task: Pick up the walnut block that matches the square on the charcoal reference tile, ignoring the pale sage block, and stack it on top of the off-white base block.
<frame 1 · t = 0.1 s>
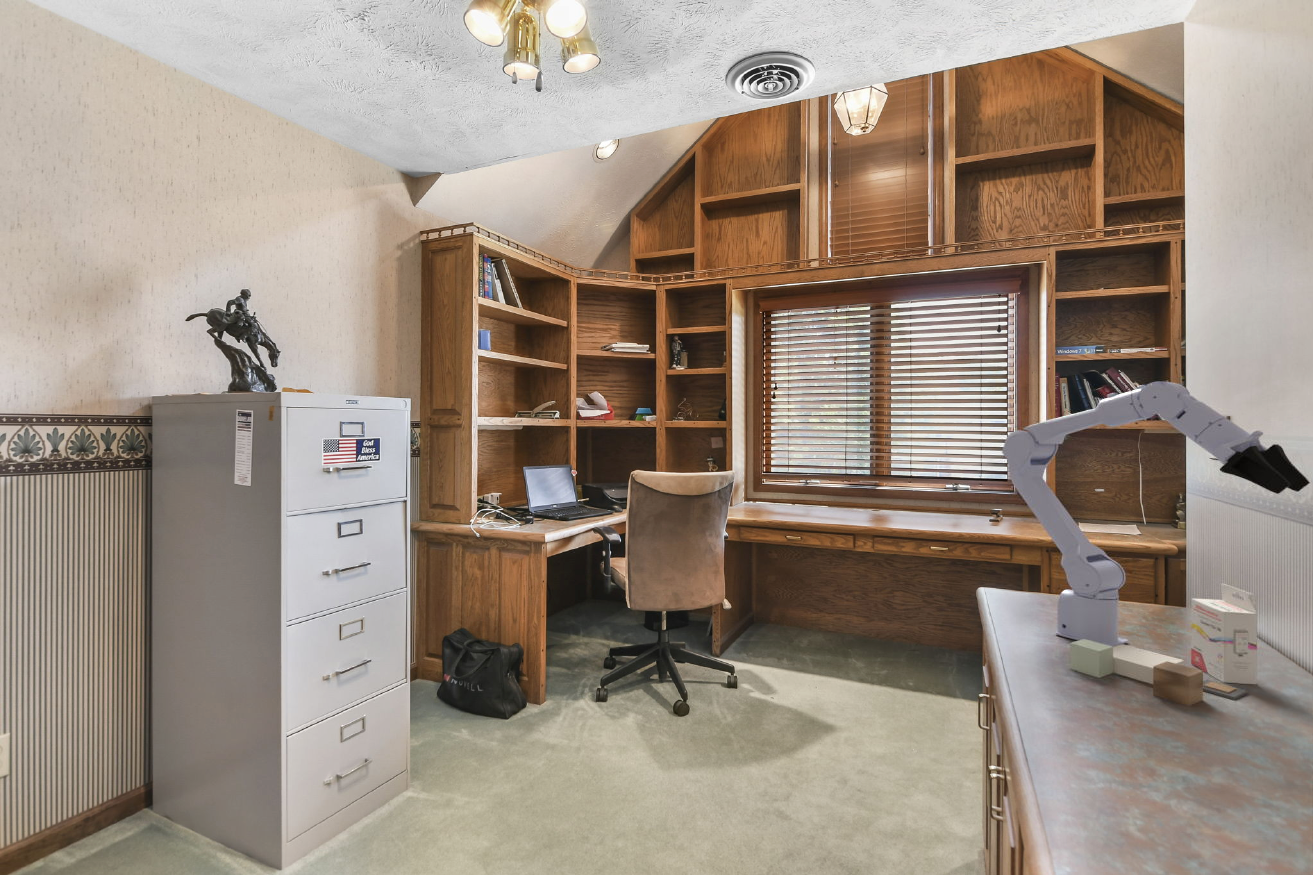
hand: (1294, 488, 95), 32 cm above the table, tool tilted 50°, fingers open, 7 cm apart
base block: (1139, 673, 104), on the table
sage block: (1091, 671, 104), on the table
reference tile: (1219, 690, 96), on the table
ink cartridge box: (1222, 675, 103), on the table
walnut block: (1177, 697, 94), on the table
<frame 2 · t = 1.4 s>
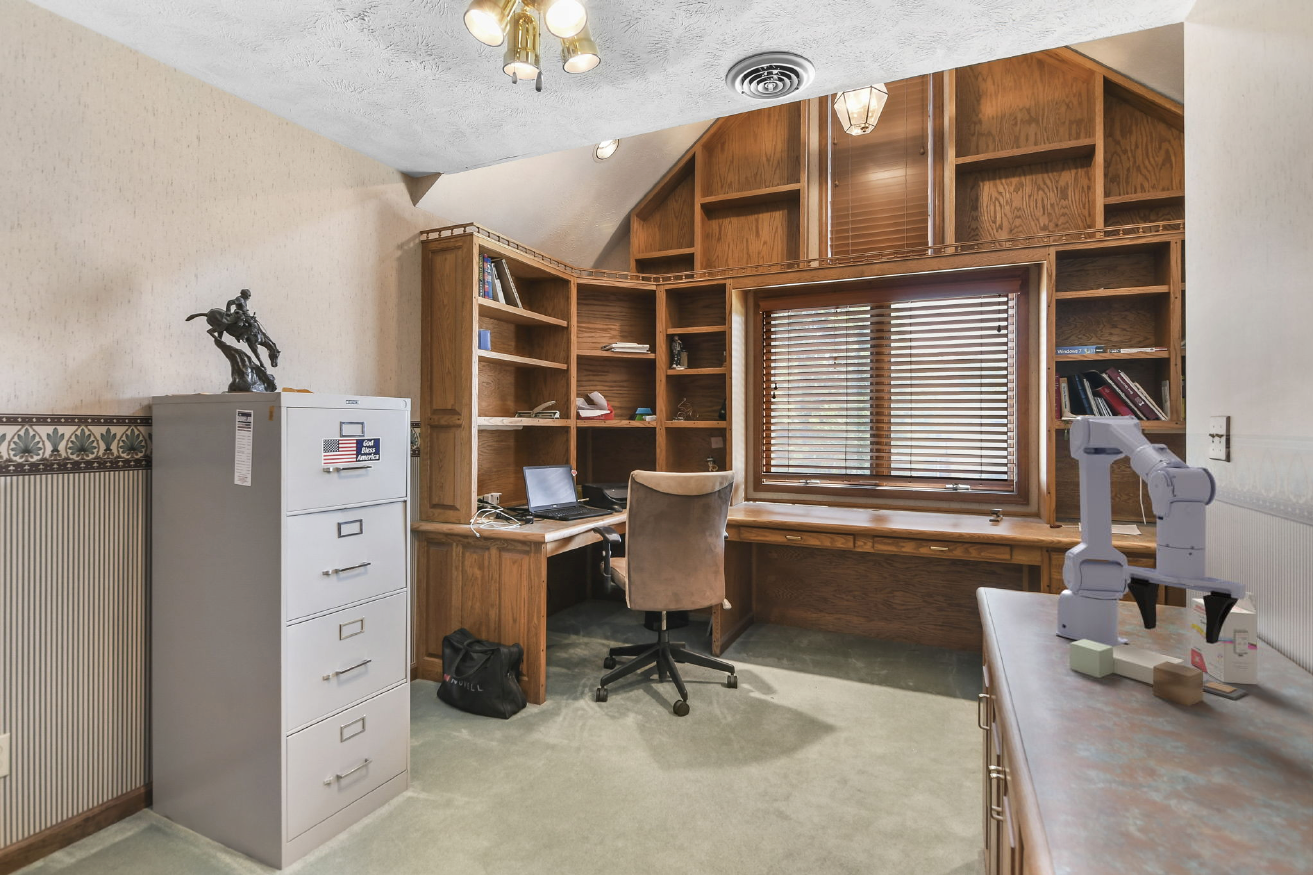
hand: (1180, 634, 94), 10 cm above the table, tool pointing down, fingers open, 7 cm apart
nothing on the table moved.
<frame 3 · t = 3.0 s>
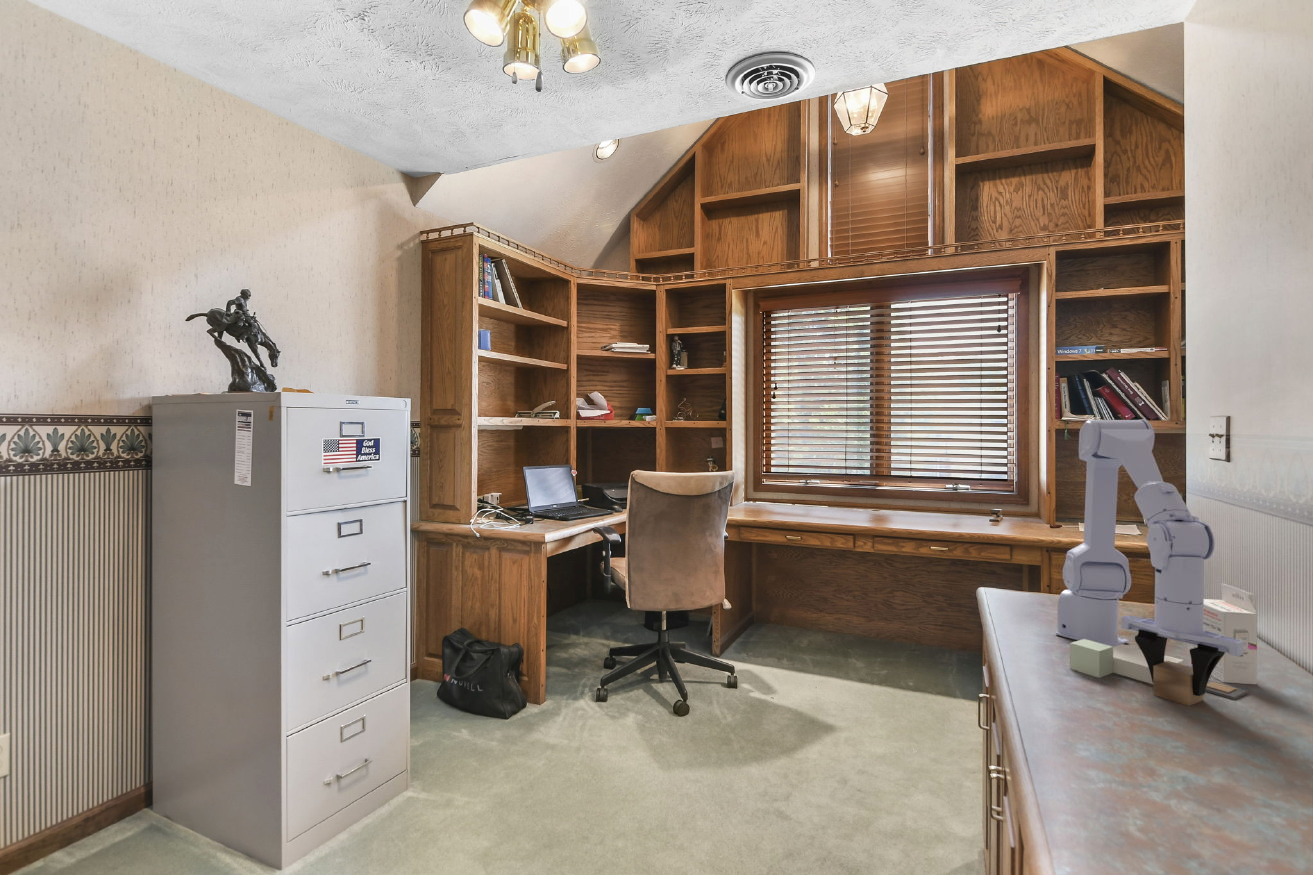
hand: (1177, 687, 94), 1 cm above the table, tool pointing down, fingers closed on walnut block, 4 cm apart
walnut block: (1177, 697, 94), on the table, touching gripper
everything else where it was.
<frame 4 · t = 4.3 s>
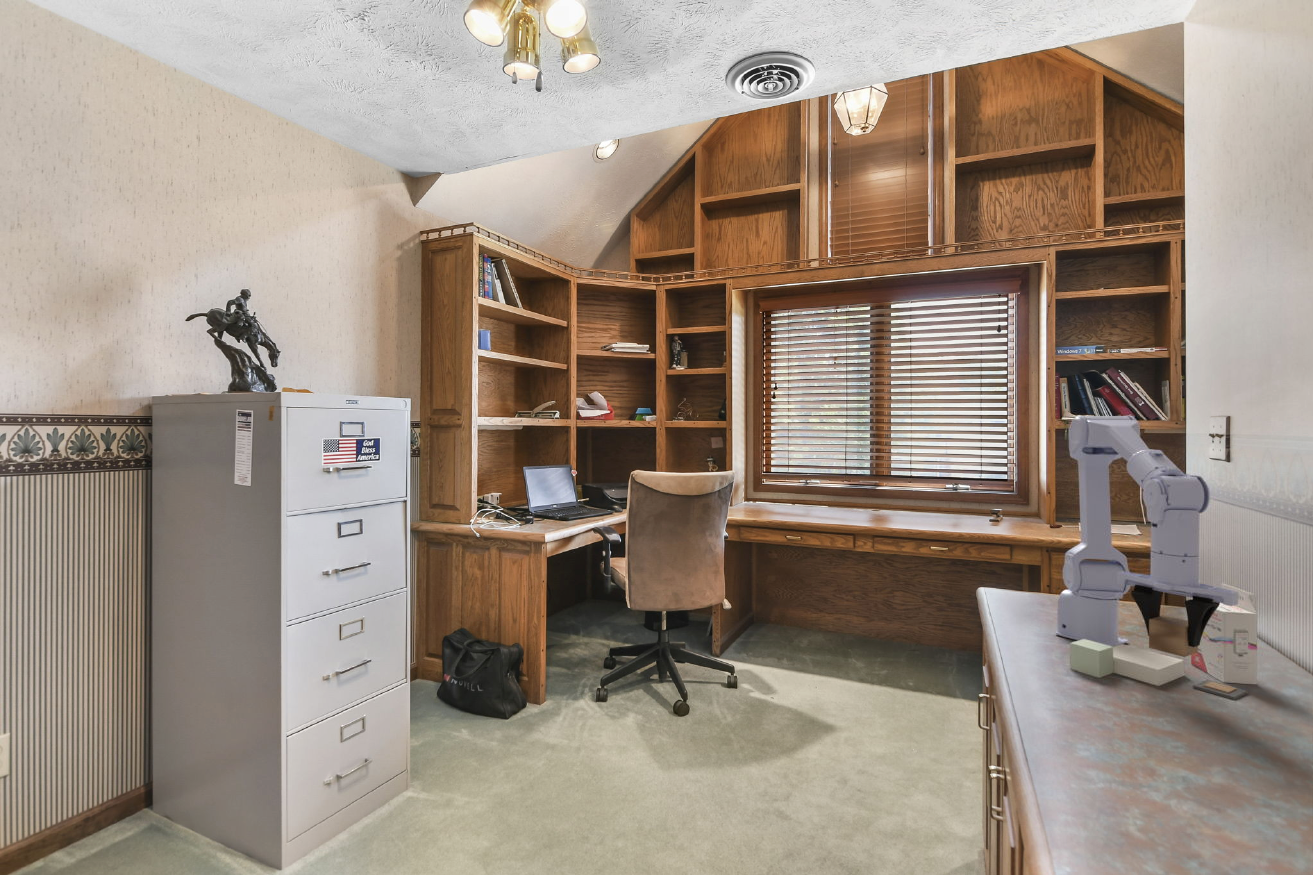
hand: (1173, 640, 95), 8 cm above the table, tool pointing down, fingers closed on walnut block, 4 cm apart
walnut block: (1173, 649, 95), point 7 cm above the table, touching gripper
everything else where it was.
when the fingers open (6 cm above the table, at t = 5.7 s): walnut block drops 2 cm, resting on base block.
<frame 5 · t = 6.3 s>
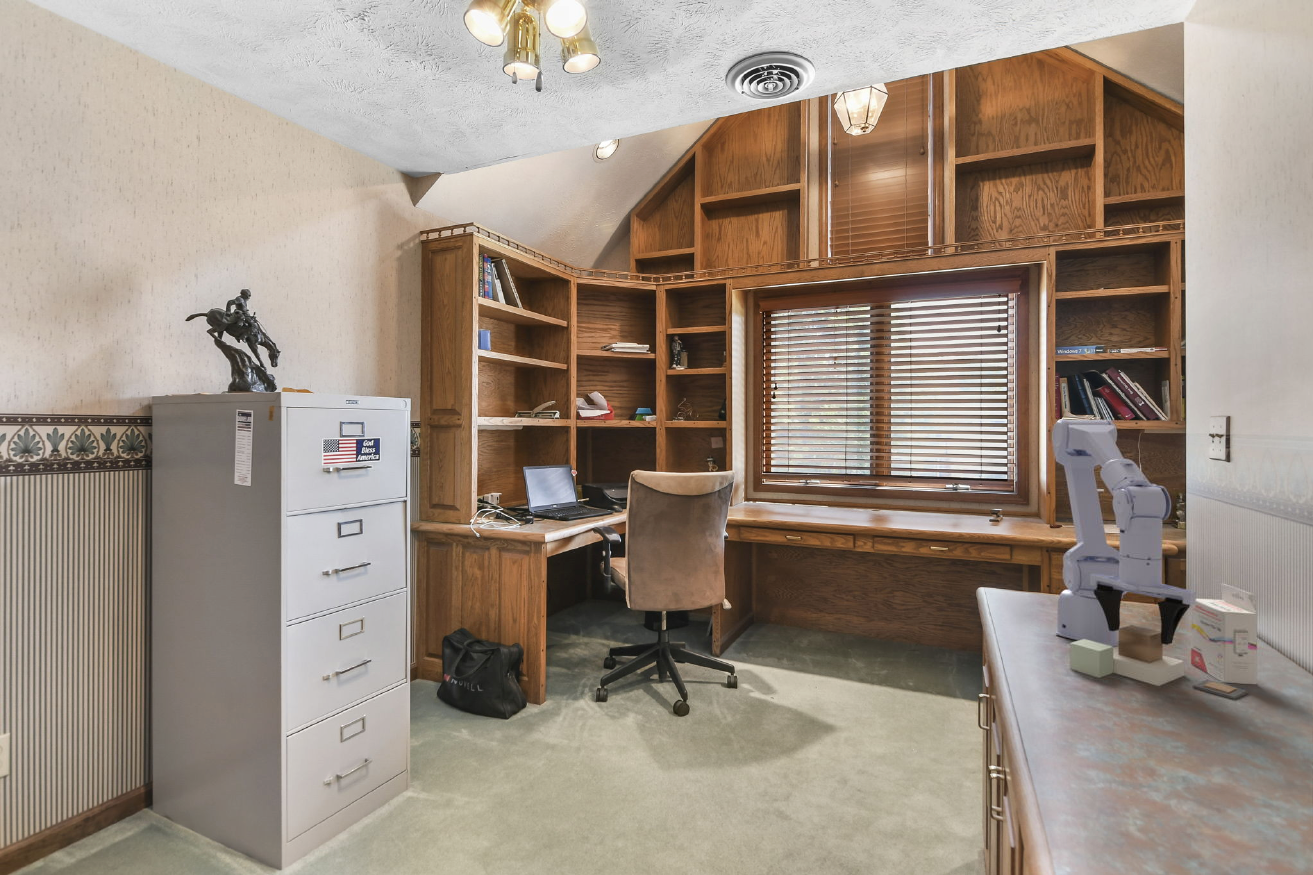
hand: (1139, 636, 104), 6 cm above the table, tool pointing down, fingers open, 7 cm apart
base block: (1139, 674, 104), on the table, touching walnut block
walnut block: (1140, 656, 104), point 2 cm above the table, touching base block
everything else where it was.
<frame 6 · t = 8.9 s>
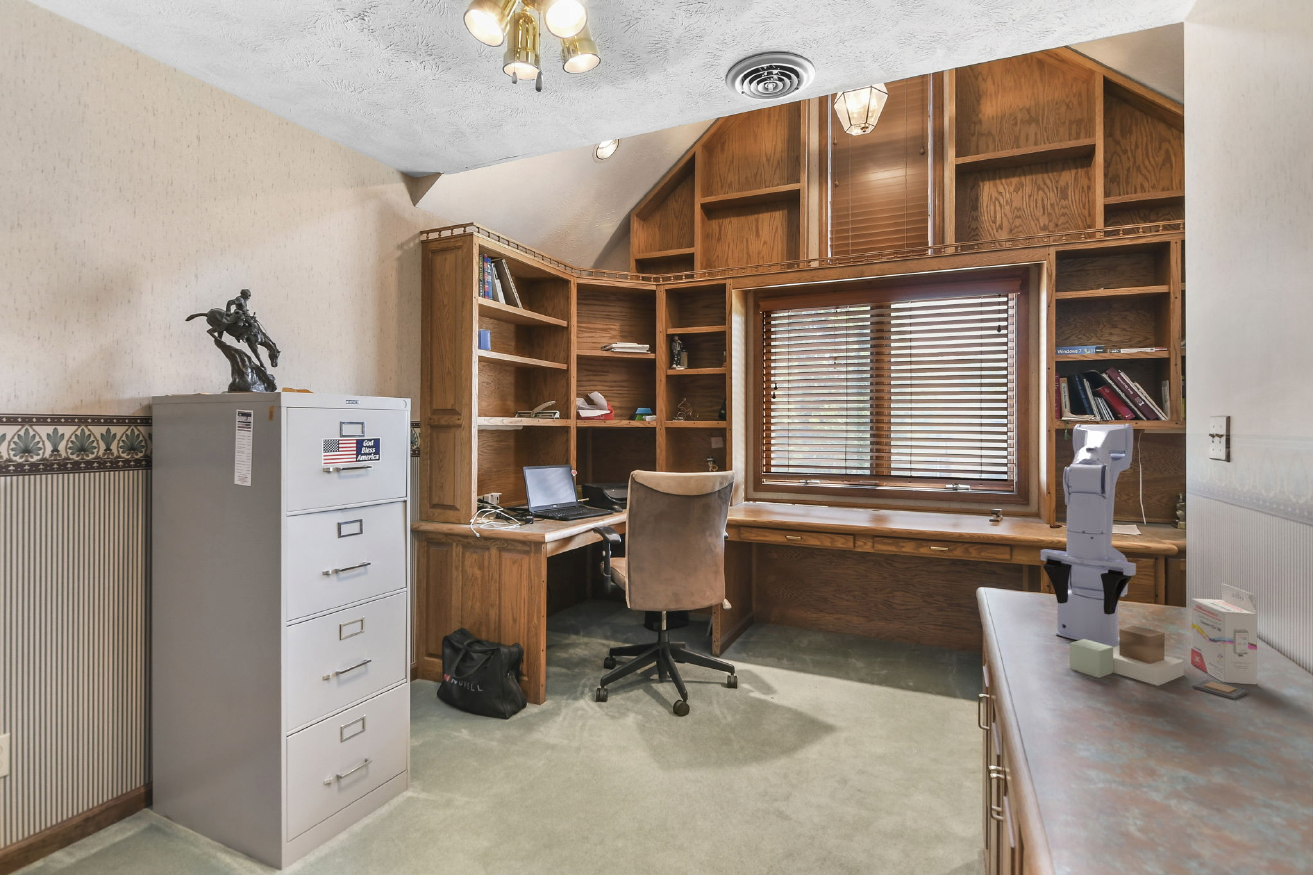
hand: (1085, 607, 109), 9 cm above the table, tool pointing down, fingers open, 7 cm apart
nothing on the table moved.
at the end: walnut block 0.4 cm off-centre on the base block, point 3.0 cm above the base block's base; walnut block tilted 0°; sage block moved 0.1 cm from its start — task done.
